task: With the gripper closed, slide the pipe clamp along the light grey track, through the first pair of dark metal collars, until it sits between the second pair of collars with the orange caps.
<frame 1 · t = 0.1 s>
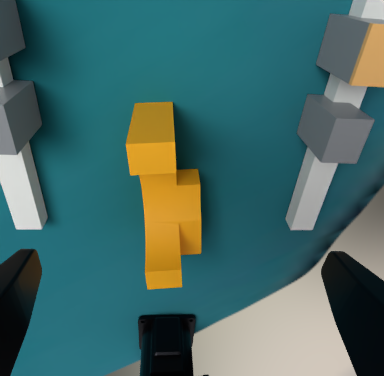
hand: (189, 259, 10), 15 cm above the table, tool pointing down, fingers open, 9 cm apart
pipe clamp: (170, 172, 25), on the table
collar track: (175, 116, 22), on the table
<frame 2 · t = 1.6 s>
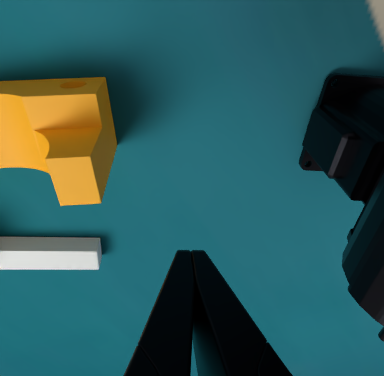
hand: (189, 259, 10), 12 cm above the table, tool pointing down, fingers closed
pipe clamp: (14, 115, 19), on the table
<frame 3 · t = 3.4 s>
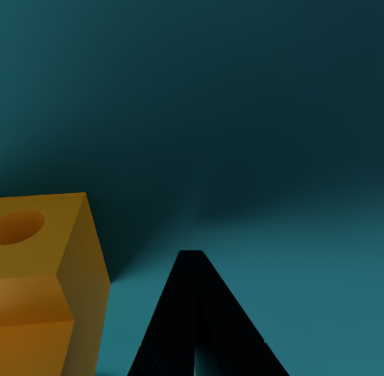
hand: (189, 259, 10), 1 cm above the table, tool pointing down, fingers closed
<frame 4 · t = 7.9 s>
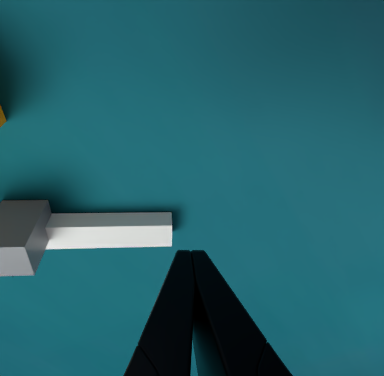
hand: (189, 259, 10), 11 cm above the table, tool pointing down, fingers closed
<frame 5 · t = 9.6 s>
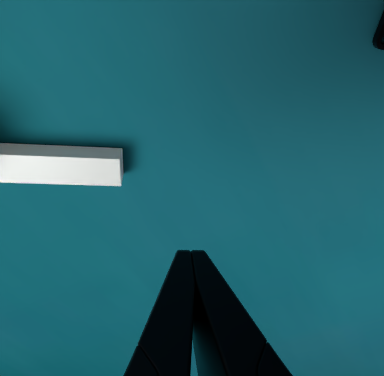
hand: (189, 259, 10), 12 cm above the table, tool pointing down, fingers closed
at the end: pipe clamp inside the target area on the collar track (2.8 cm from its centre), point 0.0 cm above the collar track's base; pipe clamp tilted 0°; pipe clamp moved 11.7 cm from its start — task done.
